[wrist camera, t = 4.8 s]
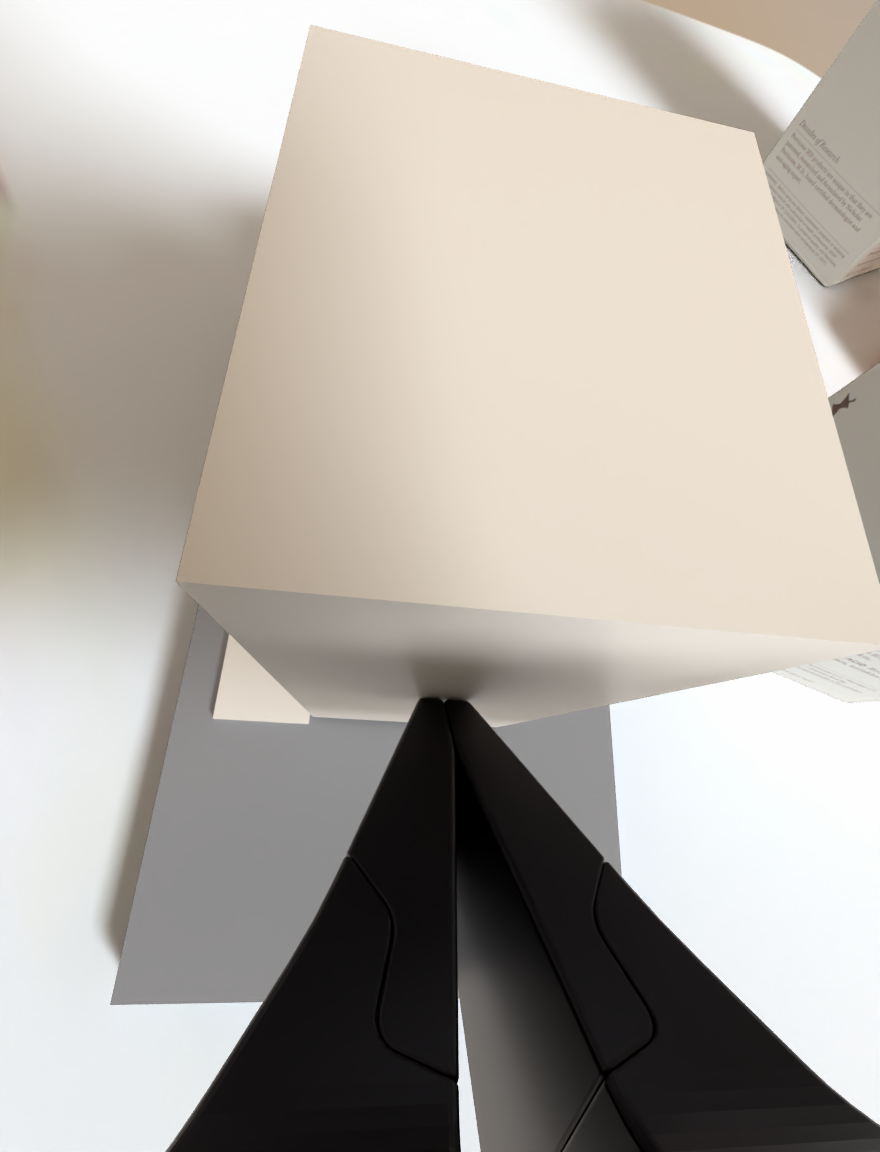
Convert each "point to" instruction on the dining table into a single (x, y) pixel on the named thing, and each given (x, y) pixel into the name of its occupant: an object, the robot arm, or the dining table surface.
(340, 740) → the gray flat rectangular panel
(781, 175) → the supplement box
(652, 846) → the dining table surface
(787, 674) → the skincare box
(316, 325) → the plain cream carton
